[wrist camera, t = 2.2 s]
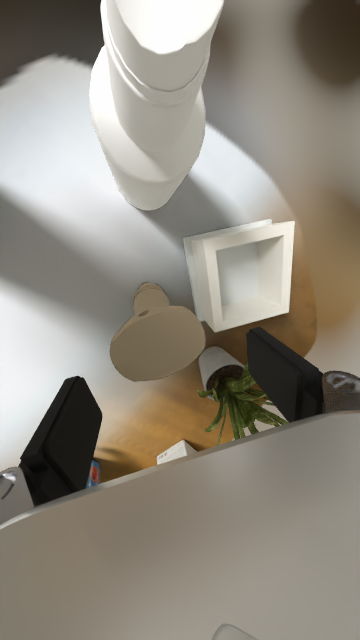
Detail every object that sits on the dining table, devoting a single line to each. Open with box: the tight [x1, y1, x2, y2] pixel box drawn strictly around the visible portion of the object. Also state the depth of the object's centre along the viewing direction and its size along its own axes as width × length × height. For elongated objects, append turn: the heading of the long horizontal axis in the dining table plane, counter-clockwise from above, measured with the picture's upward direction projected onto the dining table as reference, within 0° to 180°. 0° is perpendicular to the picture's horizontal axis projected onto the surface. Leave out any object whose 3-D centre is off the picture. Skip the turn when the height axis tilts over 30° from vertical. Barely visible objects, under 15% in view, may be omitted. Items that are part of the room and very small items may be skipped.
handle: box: [110, 282, 206, 382], centre depth 19 cm, size 5×6×15 cm
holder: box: [183, 219, 295, 332], centre depth 24 cm, size 12×12×6 cm
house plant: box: [197, 347, 289, 446], centre depth 26 cm, size 14×14×16 cm
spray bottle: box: [89, 0, 224, 210], centre depth 13 cm, size 7×7×18 cm
